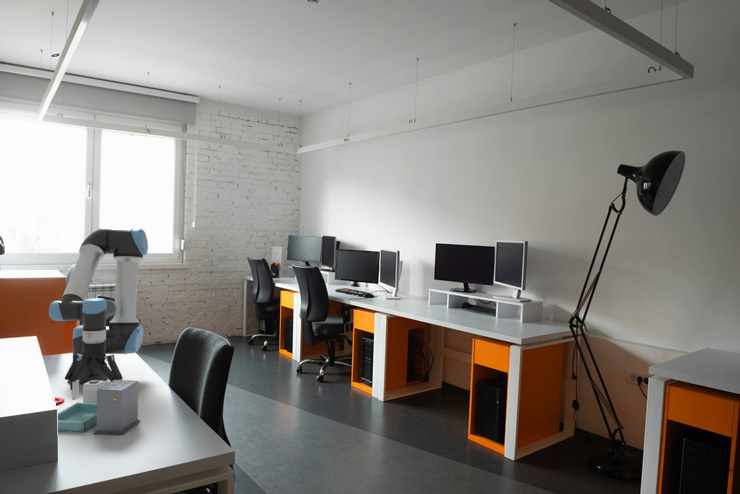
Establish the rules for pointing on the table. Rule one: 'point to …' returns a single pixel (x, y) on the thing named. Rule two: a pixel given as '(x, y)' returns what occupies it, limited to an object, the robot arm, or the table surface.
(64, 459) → the table surface
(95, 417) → the parts tray
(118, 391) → the controller unit
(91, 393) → the white tall square block
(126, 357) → the table surface
